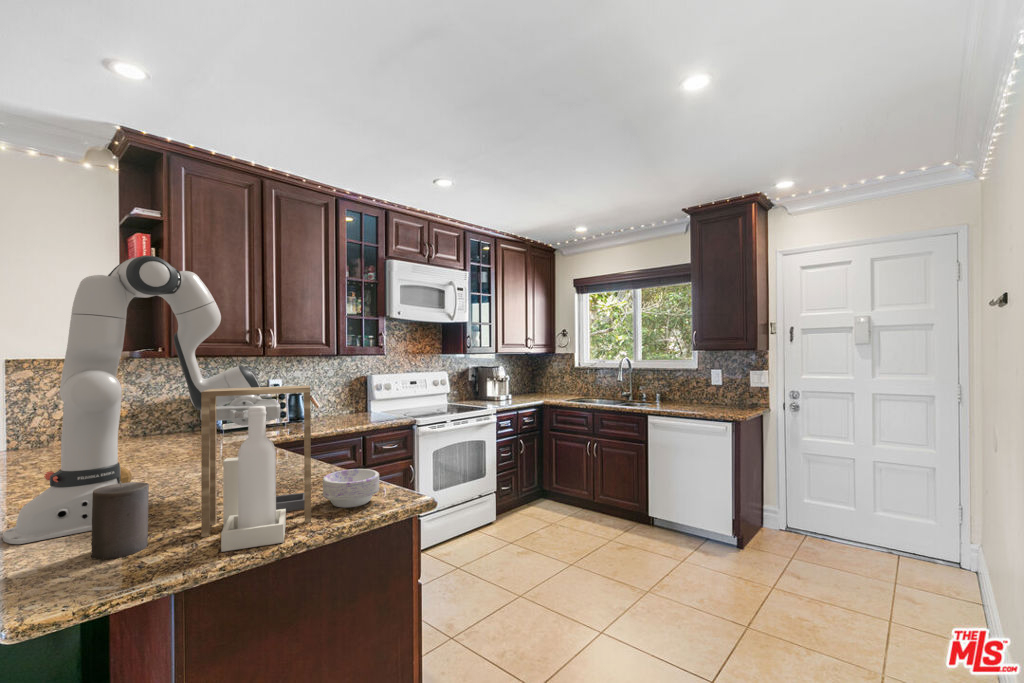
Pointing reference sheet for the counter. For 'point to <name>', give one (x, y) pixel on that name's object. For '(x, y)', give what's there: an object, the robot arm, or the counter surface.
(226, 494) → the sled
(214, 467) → the oak shelf bridge
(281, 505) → the tray
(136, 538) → the pillar candle
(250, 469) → the bottle
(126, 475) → the potato
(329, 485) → the paper bowls
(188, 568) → the counter surface
